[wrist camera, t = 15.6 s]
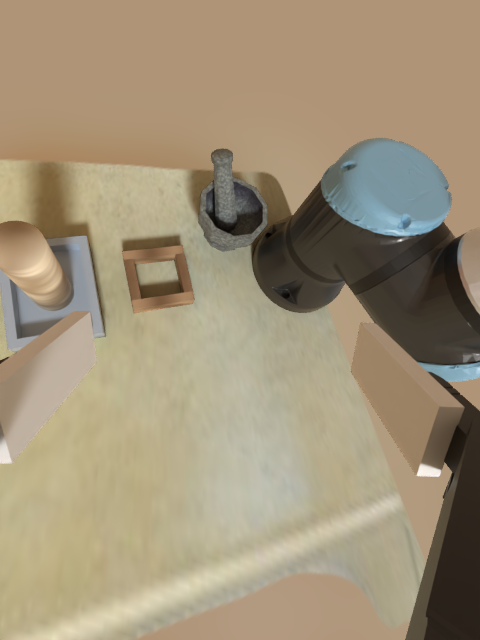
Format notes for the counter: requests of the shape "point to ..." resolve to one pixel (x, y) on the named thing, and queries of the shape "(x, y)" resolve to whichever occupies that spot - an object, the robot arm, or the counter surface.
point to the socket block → (158, 256)
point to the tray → (33, 321)
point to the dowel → (33, 266)
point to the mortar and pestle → (230, 207)
